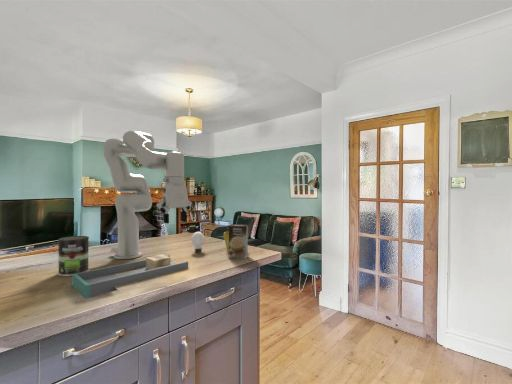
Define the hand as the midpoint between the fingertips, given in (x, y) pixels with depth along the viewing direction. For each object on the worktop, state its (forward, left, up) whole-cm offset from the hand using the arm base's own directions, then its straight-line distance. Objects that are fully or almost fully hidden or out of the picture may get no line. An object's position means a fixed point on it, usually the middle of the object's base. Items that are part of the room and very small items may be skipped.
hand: (175, 222), depth 115 cm
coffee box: (+24, +20, -20) cm, 38 cm away
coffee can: (-39, -10, -20) cm, 45 cm away
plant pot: (+19, +34, -20) cm, 44 cm away
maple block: (-5, -6, -18) cm, 20 cm away
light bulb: (+1, +28, -20) cm, 35 cm away
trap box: (-11, -14, -20) cm, 26 cm away
